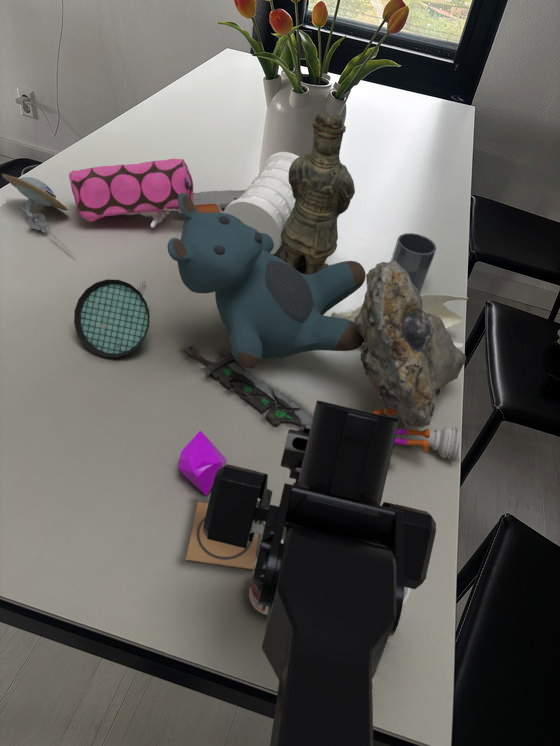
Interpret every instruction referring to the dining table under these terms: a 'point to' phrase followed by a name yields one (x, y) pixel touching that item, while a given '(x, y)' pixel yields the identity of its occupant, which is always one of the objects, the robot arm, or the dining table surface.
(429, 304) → the clam shell
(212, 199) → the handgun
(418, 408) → the rock
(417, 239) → the pencil cup
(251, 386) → the sword
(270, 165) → the decorative container
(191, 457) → the crystal
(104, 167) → the pencil case
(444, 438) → the chess piece
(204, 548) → the square wooden coaster
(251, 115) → the dining table surface
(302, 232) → the statue
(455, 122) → the dining table surface
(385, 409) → the toy figure
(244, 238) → the stuffed animal
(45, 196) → the toy
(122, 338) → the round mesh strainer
